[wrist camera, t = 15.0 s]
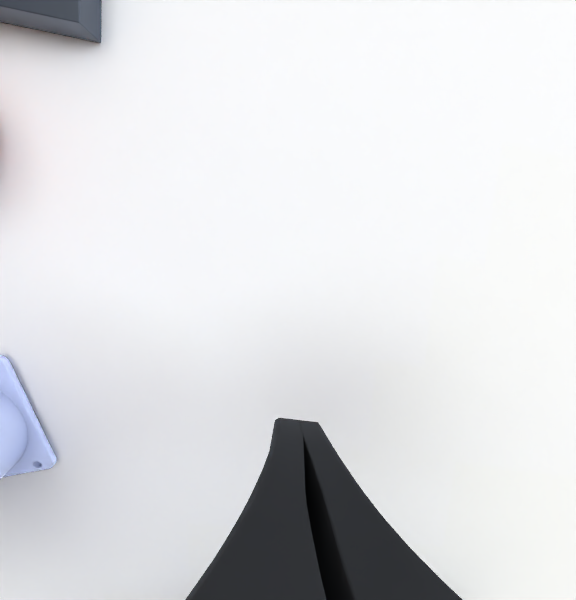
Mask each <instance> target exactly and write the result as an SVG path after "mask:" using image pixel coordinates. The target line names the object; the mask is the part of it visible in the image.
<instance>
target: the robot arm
mask: <svg viewBox="0 0 576 600" xmlns="http://www.w3.org/2000/svg"><path fill="white" fill-rule="evenodd" d="M56 461H57V459H56V456H55V454H54V452H53V450H52V448H51V446H50V444H49V442H48V440H47V438H46V436H45V434H44V431H43V429H42V427H41V425H40V423H39V421H38V419H37V417H36V415H35V413H34V411H33V409H32V407H31V405H30V403H29V400H28V398H27V396H26V394H25V392H24V390H23V388H22V386H21V384H20V382H19V380H18V378H17V376H16V374H15V372H14V369H13V367H12V365H11V363H10V361H9V360H8V358H6V357H5V356H2V355H0V479H1V478H2V477H7V476H12V475H18V474H23V473H29V472H34V471H40V470H45V469H49V468H52V467H53V465H54V464H55V463H56ZM186 600H462V599H461V598H460V597H459V596H458V595H457V594H456V593H455V592H454V591H453V590H451V589H450V588H449V587H448V586H447V585H446V584H445V583H444V582H443V581H442V580H441V579H440V578H439V577H438V576H437V575H436V574H435V573H434V572H433V571H432V570H431V569H430V568H429V567H428V566H427V565H426V564H425V563H424V562H423V561H422V560H421V559H420V558H419V557H418V556H417V555H416V554H415V552H414V551H413V550H412V549H411V548H410V547H409V546H408V545H407V544H406V543H405V542H404V541H403V539H402V538H401V537H400V536H399V535H398V534H397V533H396V532H395V530H394V529H393V528H392V527H391V526H390V525H389V524H388V522H387V521H386V520H385V519H384V518H383V516H382V515H381V514H380V513H379V512H378V510H377V509H376V508H375V507H374V505H373V504H372V503H371V501H370V500H369V499H368V497H367V496H366V495H365V493H364V492H363V491H362V489H361V488H360V486H359V485H358V484H357V482H356V481H355V479H354V478H353V477H352V475H351V474H350V472H349V471H348V469H347V468H346V466H345V465H344V463H343V462H342V460H341V459H340V457H339V456H338V454H337V452H336V451H335V449H334V448H333V446H332V444H331V443H330V441H329V440H328V438H327V436H326V435H325V433H324V431H323V430H322V428H321V426H320V425H319V423H318V422H310V421H302V420H293V419H285V418H278V419H277V420H275V424H274V429H273V435H272V440H271V446H270V451H269V454H268V457H267V459H266V462H265V465H264V468H263V470H262V472H261V474H260V477H259V479H258V481H257V483H256V485H255V488H254V490H253V492H252V494H251V496H250V498H249V500H248V502H247V504H246V506H245V508H244V510H243V511H242V513H241V515H240V517H239V519H238V520H237V522H236V524H235V526H234V527H233V529H232V531H231V532H230V534H229V536H228V537H227V539H226V541H225V542H224V544H223V545H222V547H221V549H220V550H219V552H218V553H217V555H216V557H215V558H214V560H213V561H212V563H211V564H210V566H209V567H208V569H207V570H206V571H205V573H204V574H203V576H202V577H201V578H200V580H199V581H198V583H197V584H196V586H195V587H194V588H193V590H192V591H191V593H190V594H189V595H188V597H187V598H186Z"/></svg>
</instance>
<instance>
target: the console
mask: <svg viewBox="0 0 576 600" xmlns="http://www.w3.org/2000/svg"><path fill="white" fill-rule="evenodd" d="M0 22H3V23H8V24H13V25H17V26H22V27H27V28H32V29H37V30H41V31H46V32H51V33H56V34H61V35H65V36H70V37H75V38H80V39H85V40H89V41H94V42H99V43H101V0H0Z"/></svg>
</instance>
